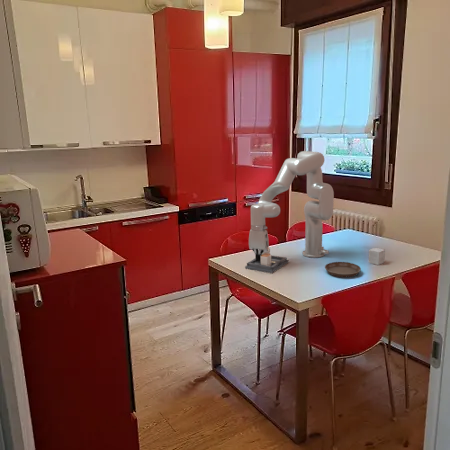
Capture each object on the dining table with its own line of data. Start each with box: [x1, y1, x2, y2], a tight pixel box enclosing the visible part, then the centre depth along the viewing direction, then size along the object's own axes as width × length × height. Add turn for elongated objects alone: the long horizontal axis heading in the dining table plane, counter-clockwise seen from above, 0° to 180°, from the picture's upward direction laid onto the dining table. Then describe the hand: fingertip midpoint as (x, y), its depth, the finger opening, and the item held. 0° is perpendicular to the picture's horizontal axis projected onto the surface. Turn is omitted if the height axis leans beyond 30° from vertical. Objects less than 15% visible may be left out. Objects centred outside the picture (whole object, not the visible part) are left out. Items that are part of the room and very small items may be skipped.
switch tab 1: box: [261, 253, 272, 266], centre depth 229 cm, size 4×5×6 cm
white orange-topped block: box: [262, 246, 271, 255], centre depth 240 cm, size 4×5×6 cm
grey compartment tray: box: [244, 254, 289, 274], centre depth 234 cm, size 16×20×3 cm
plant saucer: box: [324, 261, 362, 278], centre depth 220 cm, size 18×18×3 cm
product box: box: [368, 247, 386, 266], centre depth 232 cm, size 6×6×7 cm
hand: (258, 260), depth 231 cm, fingers closed
